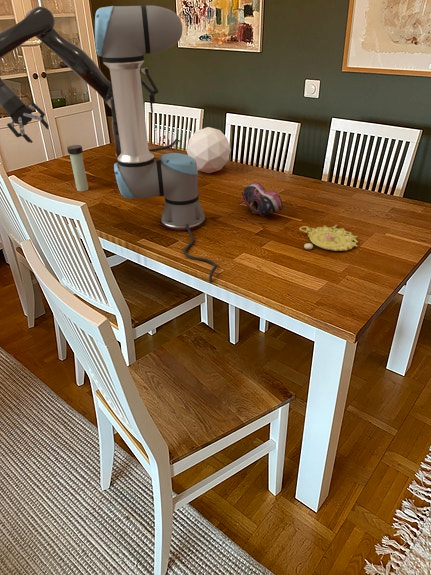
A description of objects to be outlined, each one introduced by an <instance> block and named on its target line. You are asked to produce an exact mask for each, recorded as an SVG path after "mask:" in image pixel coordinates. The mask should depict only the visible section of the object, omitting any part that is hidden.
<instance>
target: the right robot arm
mask: <svg viewBox="0 0 431 575" xmlns="http://www.w3.org/2000/svg"><path fill="white" fill-rule="evenodd" d="M182 35H183V23H182V20H181V18H180V16H179V15H178V14H177V13H176V12H174V11H173V10H172V9H170V8H166V7H163V6H158V5H148V4H147V5H127V6H126V5H119V6H117V5H111V6H103V7H99V8H98V9H97V10H96V12H95V15H94V40H95V41H94V42H95V53H96V55H97V57H98V56H99V57H102V62H103V65H105V66H106V68H108V70H109V74H110V82H111V83H110V86H109V89H108V92H107V95H108V96H111V97H112V100H113V105H114V106H115V110H116V117H117V124H118V132H119V139H120V146H121V154H120V155H119V156H118V158H117V157H116V160H117V159H118V163H117V162H115V163H114V164H113V170H114V175H115V181H116V183H117V187H118V190H119V192H120V195H121V196H122V198H124V199H134V200H135V199H136V200H138V199H146V198H157V197H164V204H163V209H162V213H161V219H160V220H161V225H162V227H163V228H165V229H167V230H170V231H175V232H176V231H177V232H185V231H186V232H187V233H188V235H189V237H190V242H189V244H188V245H187V246H185V247H184V249H183V255H184V256H185V257H187V258H189V259H192V260H197V261H202V262H207V263H209V264H211V265H212V266H213V267H212V269H211V270H210V272H209V274H208V280H209V281H208V283H209V284H212V283H213V275H214V272H215V271H216V270H217V264H216V262H214V261H213V260H211V259H209V258H205V257H199V256H193V255H191V254H188V253H187V251H188V249H189V248H191V247H192V246H193V244H194V235H193V234H192V230H195V229H198V228H201V227H202V226H203V225H204V224H205V223H206V215H205V212H204V210H203V208H202V204H201V202H200V196H199V179H198V177H199V176H198V174H199V171H198V170H197V163H196V161H195V159H194V158H192V157H191V156H188V154H184V153H178V152H170V153H169V152H168V153H163V154H162V155H161V156H160V159H157V160H156V159H155V154H153V153H152V151H149V143H148V142H149V141H148V134H147V132H148V131H147V125H146V124H147V123H146V113H145V106H144V97H143V96H144V95H143V87H144V88H145V89H146V90H147V91H148V93H149V94H148V96H149V105H150V114H153V113H154V107H153V104H155V103H156V100H155V95H157V94H158V93H159V89H158V87H157V85H156V84H155V82H154V80H153V78H152V76H151V75H150V73H149V69H148V67H143V68H141V66H142V65H143V64H144V63H145V55H146V54H147V55H148V54H149V55H150V54H157V53H161V52H164V51H168V50H169V49H171V48H173V47H174V46H176V45H177V44H178V43H179V42H180V40H181V39H182ZM142 73H143V75H145V76H146V78H147V80H148V82H149V83H150V85H151V87H152V88H151V87H150V86H149V85H148V84H147V82H145V81H144V79H142V77H141V76H142V75H141V74H142ZM112 89H113V93H111V90H112Z"/></svg>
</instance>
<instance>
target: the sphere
mask: <svg viewBox="0 0 431 575" xmlns="http://www.w3.org/2000/svg"><path fill="white" fill-rule="evenodd" d="M231 151H232V149H231V145H230V143H229V140H228V138H227V136H226V135H225V134H224V133H223V131H221V129H218V128H213V127H210V126H206V127H204V128H200V129H198V130H195V132H194V133H193V134H192V135H191V136H190V137H189V140H188V143H187V147H186V155H188V156H191V157H192V158H194V159H195V161H196V163H197V171H198V172H203V173H206V174H212V173H215V172H218V171H221V170H222V169H223V168H224V166H226V164H227V163H228V161H229V158H230V155H231Z"/></svg>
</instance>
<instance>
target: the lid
mask: <svg viewBox="0 0 431 575" xmlns="http://www.w3.org/2000/svg"><path fill="white" fill-rule="evenodd" d="M66 149H67V150H66V151H67V153H68V154H69V155H70V154H79V153H82V154H83V146H82V145H80V144H73V145H68V146H67V147H66Z"/></svg>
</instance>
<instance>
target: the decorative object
mask: <svg viewBox="0 0 431 575" xmlns="http://www.w3.org/2000/svg"><path fill="white" fill-rule="evenodd" d="M303 228H304V229H305V230H304V229H303ZM299 231H300V232H303V233H305V234H307V237H308V238H309V240H310V241H311V243H304V244H303V248H304V249H305V250H313V249H314V245H315V246H316V247H318V248H321V249H324V250H328V251H335V252H341V251H348V250H352V249H354V247H356V248H358V247H359V245H358V244H357V243H359V240H357V238H359V237H358V235H353V234H352V231H347V230H346V229H345V228H344V227H342V228H338V224H335V225H333V226H331V227H328V226H327V225H326V224H325V225H323V226H322V227H321V226H317V227H316V228H314V227H309V226H308V225H302V226H300V227H299ZM313 244H314V245H313Z"/></svg>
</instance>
